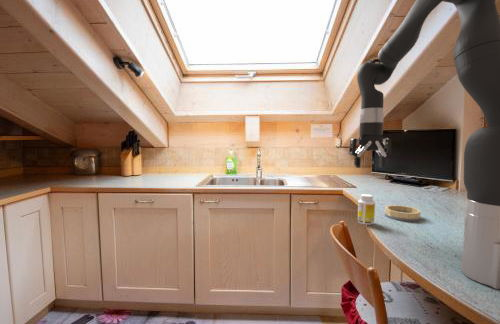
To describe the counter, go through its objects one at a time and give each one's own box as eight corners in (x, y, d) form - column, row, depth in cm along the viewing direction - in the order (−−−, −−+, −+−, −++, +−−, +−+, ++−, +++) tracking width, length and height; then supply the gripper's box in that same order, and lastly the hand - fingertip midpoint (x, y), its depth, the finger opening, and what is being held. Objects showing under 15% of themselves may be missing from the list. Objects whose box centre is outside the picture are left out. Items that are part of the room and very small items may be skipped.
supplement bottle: (376, 222, 96) (377, 195, 95) (370, 226, 92) (372, 197, 91) (360, 219, 100) (361, 192, 99) (354, 222, 96) (356, 195, 95)
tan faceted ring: (427, 221, 98) (428, 213, 97) (397, 221, 97) (397, 214, 96) (406, 211, 109) (406, 204, 109) (378, 212, 109) (379, 205, 108)
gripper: (356, 121, 88) (354, 169, 90) (397, 121, 89) (395, 168, 91) (347, 122, 96) (345, 166, 97) (384, 122, 97) (382, 166, 98)
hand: (369, 167), depth 94 cm, fingers open, 8 cm apart
